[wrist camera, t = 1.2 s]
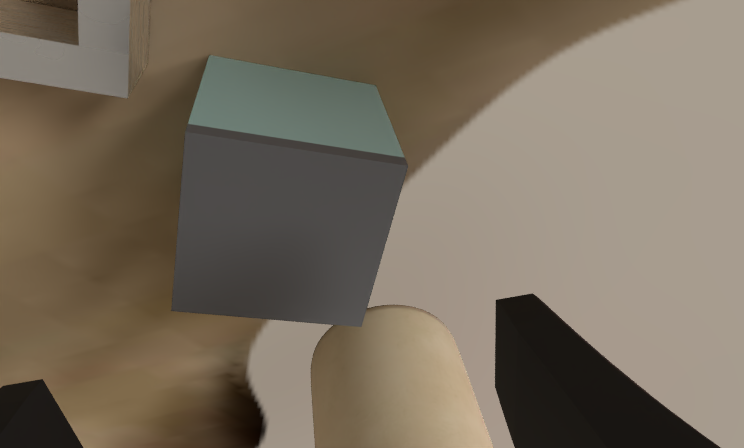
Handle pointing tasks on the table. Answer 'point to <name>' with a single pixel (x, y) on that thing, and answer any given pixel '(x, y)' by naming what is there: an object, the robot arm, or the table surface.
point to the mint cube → (284, 195)
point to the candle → (393, 385)
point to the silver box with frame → (76, 44)
